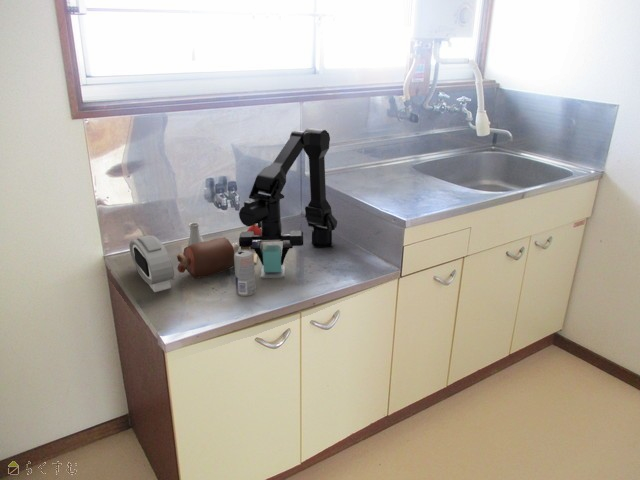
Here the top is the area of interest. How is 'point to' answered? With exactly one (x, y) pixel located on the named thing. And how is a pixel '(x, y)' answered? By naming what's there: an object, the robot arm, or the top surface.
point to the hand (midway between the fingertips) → (272, 264)
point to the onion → (255, 230)
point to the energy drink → (244, 272)
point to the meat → (207, 257)
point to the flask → (194, 234)
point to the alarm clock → (152, 262)
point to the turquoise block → (272, 258)
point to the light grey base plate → (273, 273)
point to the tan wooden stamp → (253, 254)
